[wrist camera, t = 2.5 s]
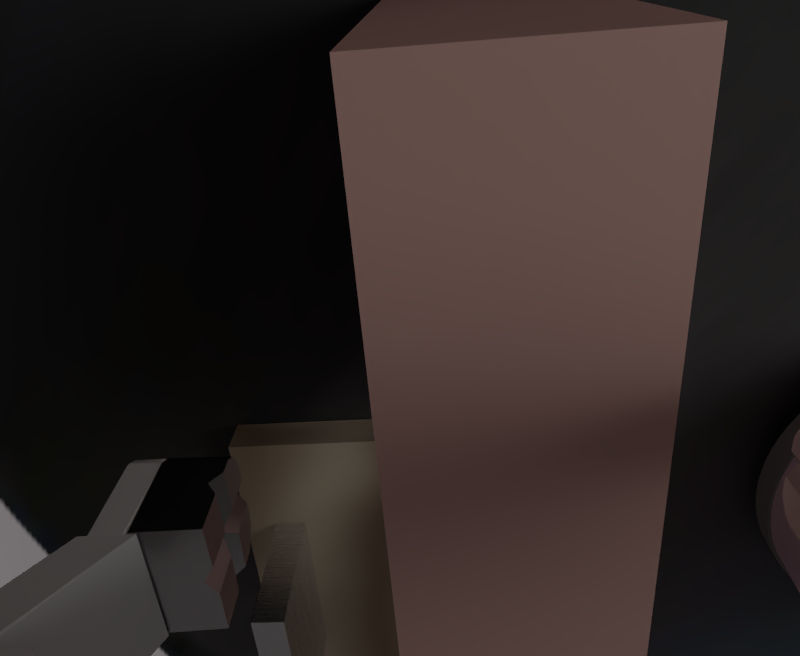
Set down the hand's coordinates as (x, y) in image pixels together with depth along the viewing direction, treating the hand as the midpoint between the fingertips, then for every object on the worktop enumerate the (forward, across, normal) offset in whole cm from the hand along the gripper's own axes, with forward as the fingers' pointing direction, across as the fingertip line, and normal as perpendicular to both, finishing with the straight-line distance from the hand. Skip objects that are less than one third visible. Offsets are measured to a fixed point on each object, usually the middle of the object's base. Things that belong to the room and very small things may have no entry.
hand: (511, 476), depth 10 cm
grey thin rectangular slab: (+14, +7, +17) cm, 23 cm away
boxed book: (+15, -1, 0) cm, 15 cm away
